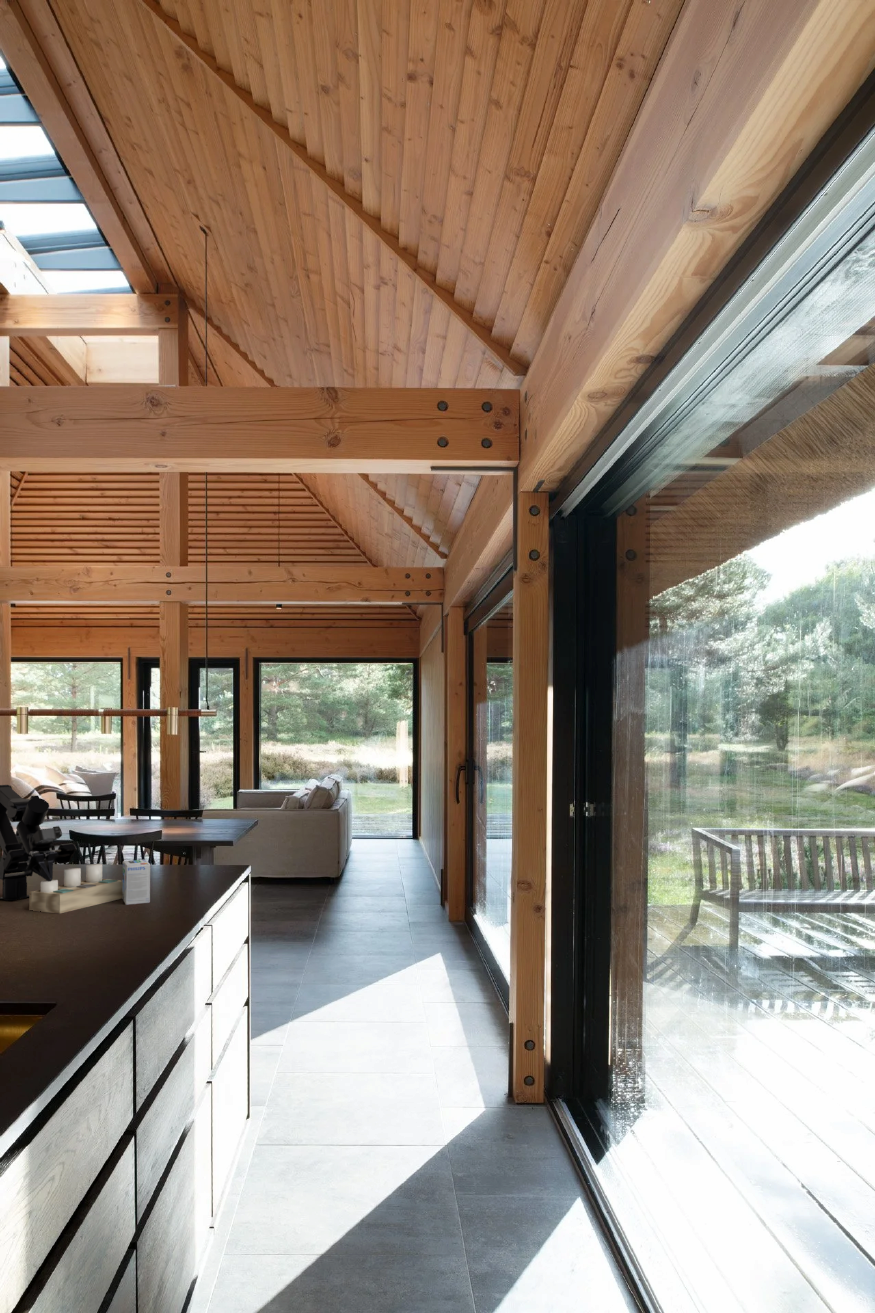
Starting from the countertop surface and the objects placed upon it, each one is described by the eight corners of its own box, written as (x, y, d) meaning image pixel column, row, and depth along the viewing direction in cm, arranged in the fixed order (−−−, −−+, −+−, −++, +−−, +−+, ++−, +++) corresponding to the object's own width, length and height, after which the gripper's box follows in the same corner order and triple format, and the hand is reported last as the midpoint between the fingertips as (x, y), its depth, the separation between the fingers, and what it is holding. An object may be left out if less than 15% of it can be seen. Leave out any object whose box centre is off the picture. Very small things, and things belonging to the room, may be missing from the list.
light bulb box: (121, 898, 266) (121, 860, 267) (145, 896, 269) (146, 859, 270) (125, 905, 257) (126, 865, 258) (151, 902, 260) (151, 863, 260)
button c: (82, 890, 267) (82, 865, 267) (94, 887, 271) (94, 863, 271) (93, 891, 265) (94, 866, 265) (105, 888, 269) (105, 864, 269)
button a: (36, 908, 252) (36, 882, 253) (49, 905, 256) (50, 879, 257) (48, 909, 250) (48, 883, 251) (61, 906, 254) (61, 880, 255)
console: (29, 910, 251) (29, 890, 252) (94, 895, 272) (94, 877, 272) (59, 913, 246) (60, 893, 247) (123, 898, 267) (123, 879, 267)
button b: (60, 895, 259) (60, 870, 260) (72, 892, 263) (72, 867, 264) (71, 896, 257) (71, 870, 258) (84, 893, 261) (84, 868, 262)
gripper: (8, 820, 251) (26, 865, 243) (73, 814, 265) (93, 856, 257) (-5, 848, 255) (12, 892, 247) (60, 840, 269) (78, 882, 261)
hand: (50, 880), depth 253 cm, fingers closed
